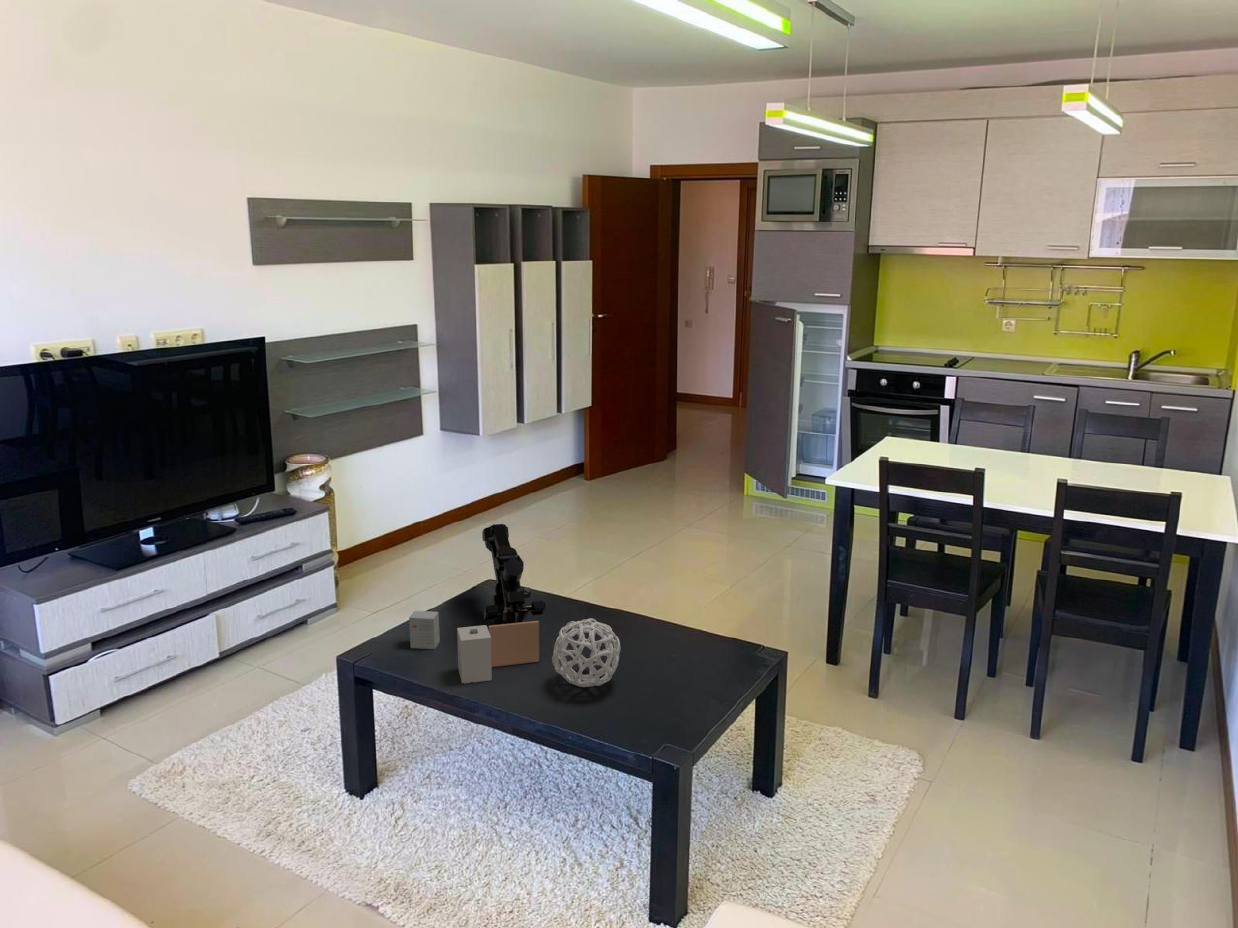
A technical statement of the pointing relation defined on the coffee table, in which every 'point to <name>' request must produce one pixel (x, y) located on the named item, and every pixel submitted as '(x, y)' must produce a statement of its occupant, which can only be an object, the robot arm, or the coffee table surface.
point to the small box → (424, 629)
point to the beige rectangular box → (474, 654)
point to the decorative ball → (610, 652)
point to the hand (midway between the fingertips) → (518, 636)
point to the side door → (514, 643)
